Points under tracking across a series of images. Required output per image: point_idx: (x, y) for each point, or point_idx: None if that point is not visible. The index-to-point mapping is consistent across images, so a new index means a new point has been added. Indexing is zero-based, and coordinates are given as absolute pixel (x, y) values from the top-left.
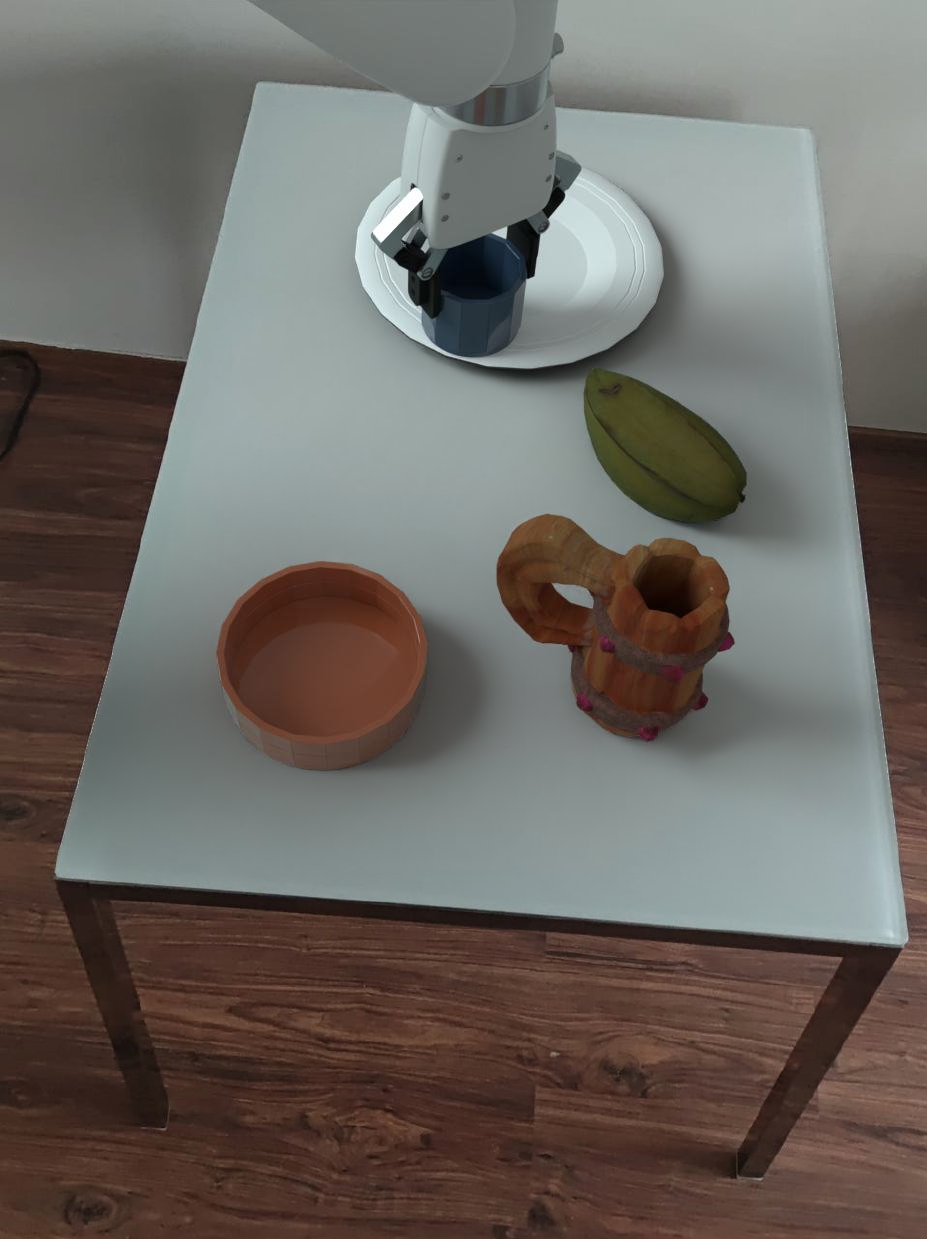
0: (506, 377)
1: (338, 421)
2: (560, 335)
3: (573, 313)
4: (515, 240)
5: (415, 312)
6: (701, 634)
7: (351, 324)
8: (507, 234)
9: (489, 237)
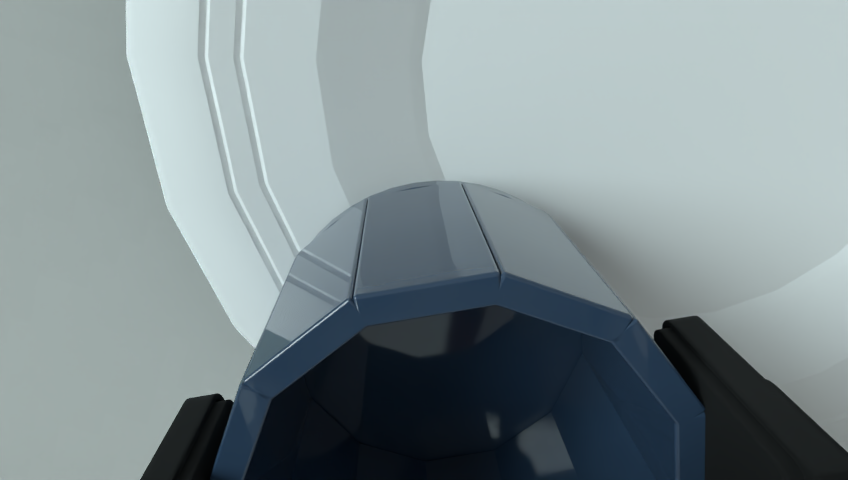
0: None
1: (7, 443)
2: None
3: None
4: (724, 473)
5: (280, 246)
6: None
7: (100, 135)
8: (715, 405)
9: (626, 359)
